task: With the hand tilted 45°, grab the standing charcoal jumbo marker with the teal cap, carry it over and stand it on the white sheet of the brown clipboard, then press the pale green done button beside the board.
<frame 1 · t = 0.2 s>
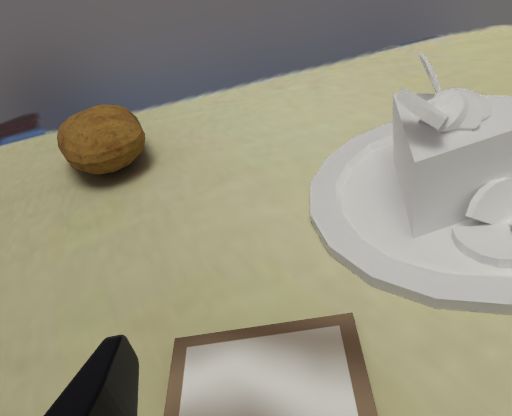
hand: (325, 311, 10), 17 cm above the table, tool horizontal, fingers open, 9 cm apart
dish: (459, 198, 38), on the table
potato: (115, 166, 54), on the table
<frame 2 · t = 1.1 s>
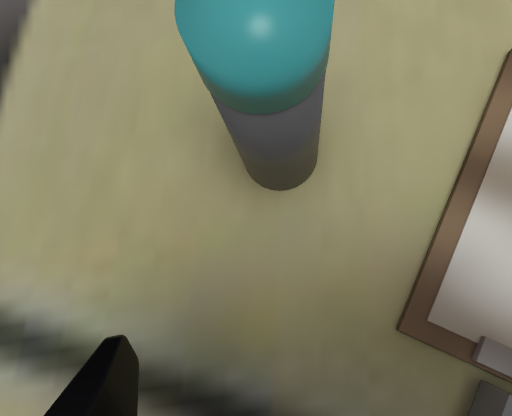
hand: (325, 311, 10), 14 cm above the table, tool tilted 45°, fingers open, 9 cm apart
marker: (280, 154, 25), on the table
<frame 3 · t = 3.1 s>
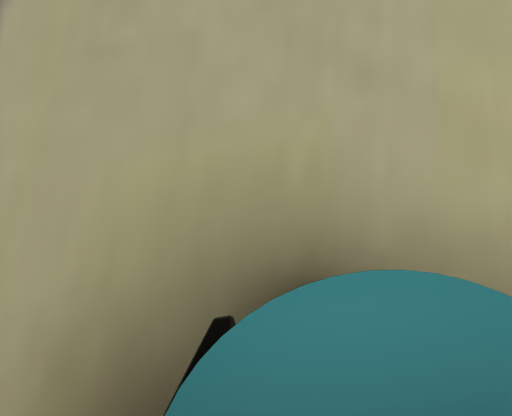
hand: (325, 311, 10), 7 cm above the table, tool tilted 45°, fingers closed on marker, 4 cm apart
marker: (323, 338, 17), on the table, touching gripper
when the fingers open (9 cm above the table, at t = 6.3 s): marker stays where it is, resting on clipboard.
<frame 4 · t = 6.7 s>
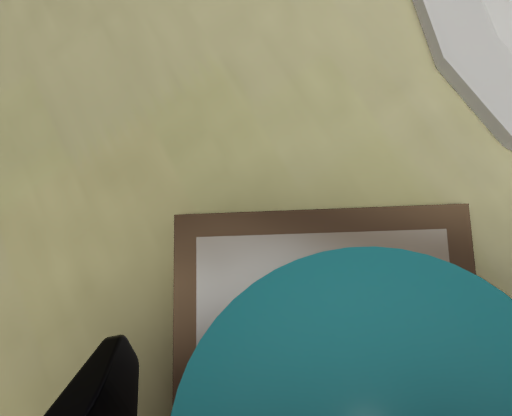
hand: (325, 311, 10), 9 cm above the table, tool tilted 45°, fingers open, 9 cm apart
clipboard: (325, 411, 18), on the table
marker: (322, 335, 17), point 1 cm above the table, touching clipboard
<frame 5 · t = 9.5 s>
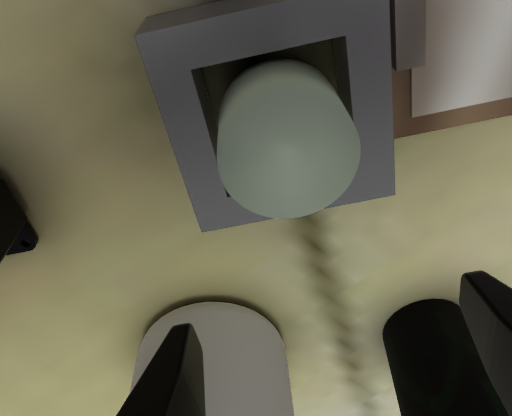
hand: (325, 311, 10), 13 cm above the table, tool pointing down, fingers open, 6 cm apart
wine bottle: (213, 342, 30), on the table
done button: (283, 138, 17), point 4 cm above the table, slide at 0.0 cm
cup: (422, 326, 30), on the table
button housing: (274, 97, 21), on the table
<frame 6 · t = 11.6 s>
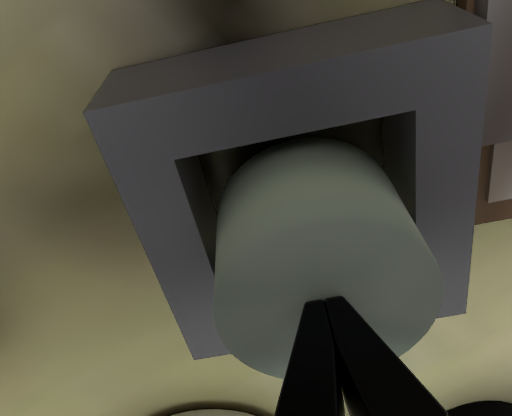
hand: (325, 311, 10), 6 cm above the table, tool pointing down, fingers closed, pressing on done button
done button: (315, 259, 11), point 4 cm above the table, slide at 0.1 cm, touching gripper
button housing: (295, 175, 15), on the table
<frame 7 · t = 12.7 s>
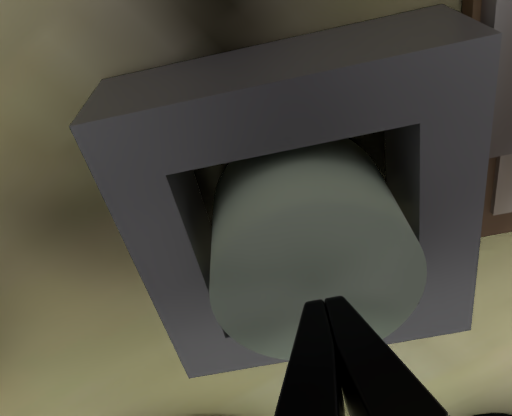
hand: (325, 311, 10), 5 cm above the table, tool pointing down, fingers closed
done button: (307, 244, 12), point 3 cm above the table, slide at 1.4 cm
button housing: (293, 186, 14), on the table
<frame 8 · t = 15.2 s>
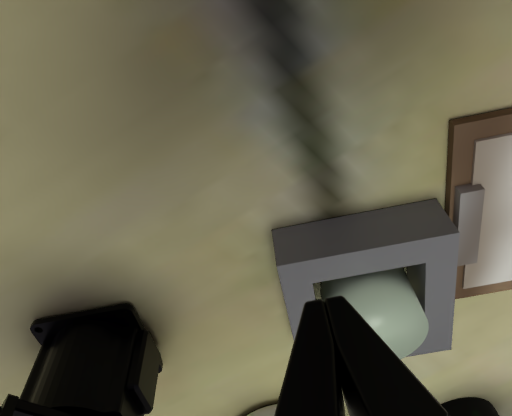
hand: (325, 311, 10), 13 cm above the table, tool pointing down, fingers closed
done button: (371, 309, 25), point 3 cm above the table, slide at 1.4 cm
cup: (458, 415, 37), on the table
button housing: (358, 273, 27), on the table
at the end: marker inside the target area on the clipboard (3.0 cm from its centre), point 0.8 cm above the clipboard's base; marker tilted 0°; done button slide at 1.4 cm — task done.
